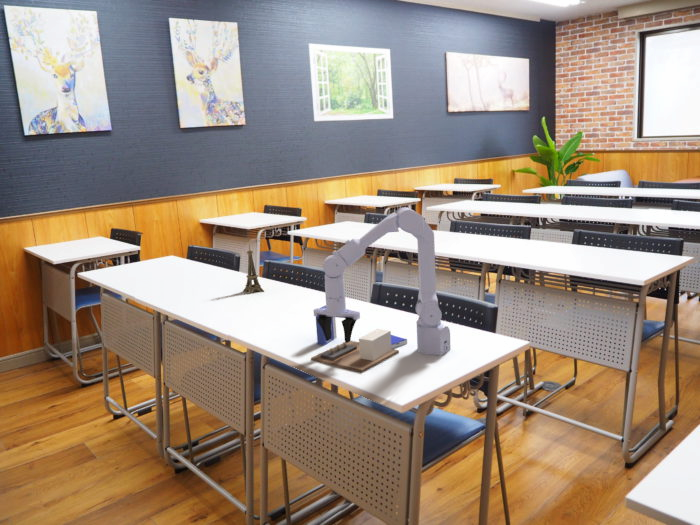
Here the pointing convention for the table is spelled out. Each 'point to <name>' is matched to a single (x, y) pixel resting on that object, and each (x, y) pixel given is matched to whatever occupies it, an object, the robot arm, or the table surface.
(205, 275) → the table surface
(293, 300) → the table surface
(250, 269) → the eiffel tower
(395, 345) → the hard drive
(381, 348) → the block
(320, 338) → the walkman
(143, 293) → the table surface
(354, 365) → the board
